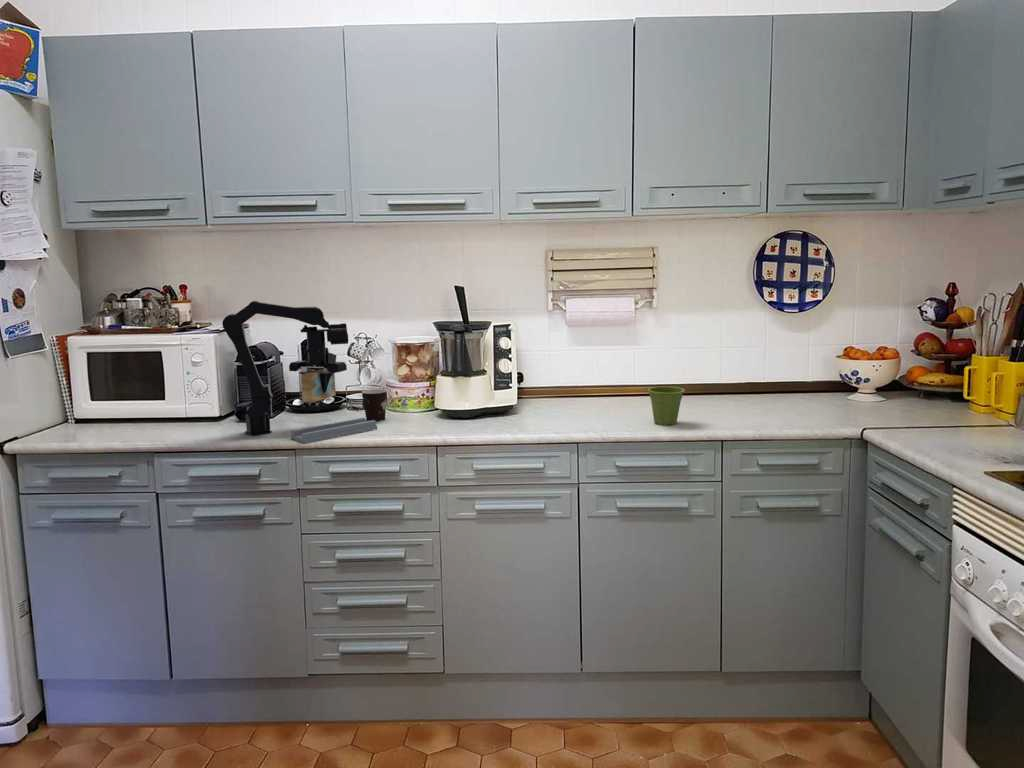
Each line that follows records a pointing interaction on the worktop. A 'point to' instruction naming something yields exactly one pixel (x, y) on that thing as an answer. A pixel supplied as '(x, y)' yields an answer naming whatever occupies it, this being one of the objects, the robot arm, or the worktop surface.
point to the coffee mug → (374, 404)
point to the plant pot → (665, 404)
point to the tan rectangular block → (316, 387)
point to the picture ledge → (332, 430)
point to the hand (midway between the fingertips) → (319, 392)
